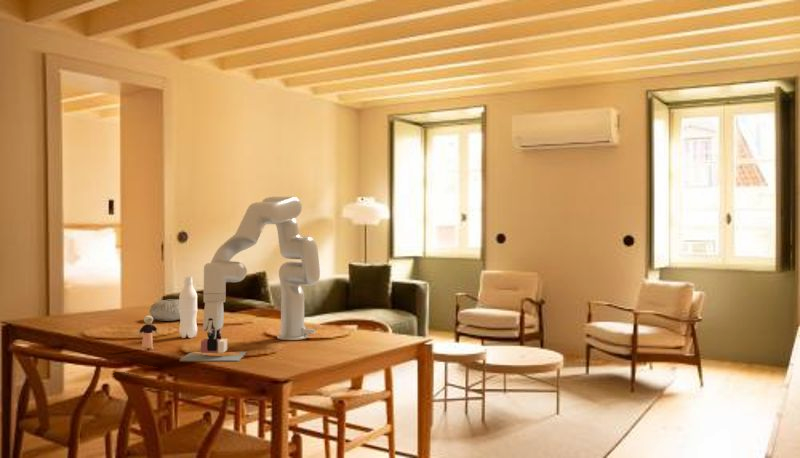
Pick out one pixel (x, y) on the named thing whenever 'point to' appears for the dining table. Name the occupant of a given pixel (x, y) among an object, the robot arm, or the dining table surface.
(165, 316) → the grey rounded rock
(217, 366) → the dining table surface
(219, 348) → the card deck
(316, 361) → the dining table surface
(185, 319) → the water bottle
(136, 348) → the dining table surface
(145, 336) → the grandmother figurine
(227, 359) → the mat
